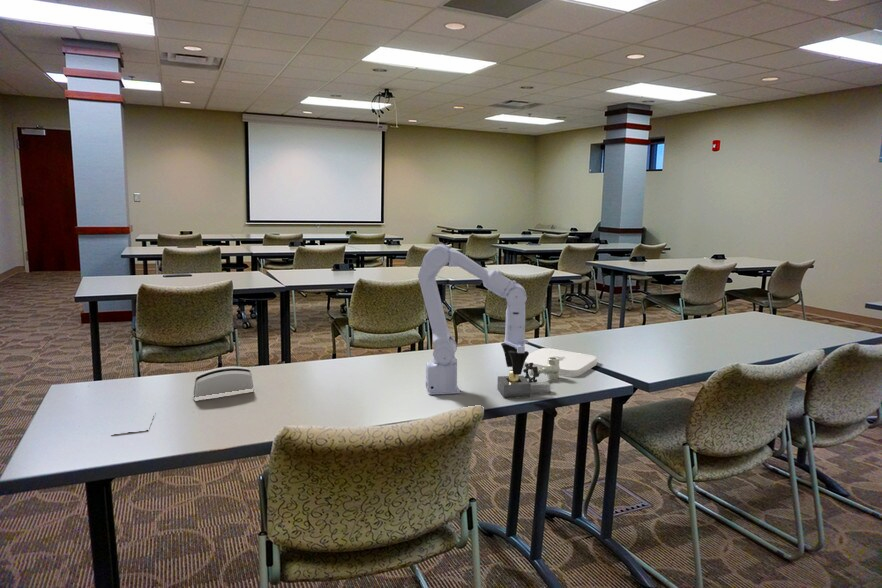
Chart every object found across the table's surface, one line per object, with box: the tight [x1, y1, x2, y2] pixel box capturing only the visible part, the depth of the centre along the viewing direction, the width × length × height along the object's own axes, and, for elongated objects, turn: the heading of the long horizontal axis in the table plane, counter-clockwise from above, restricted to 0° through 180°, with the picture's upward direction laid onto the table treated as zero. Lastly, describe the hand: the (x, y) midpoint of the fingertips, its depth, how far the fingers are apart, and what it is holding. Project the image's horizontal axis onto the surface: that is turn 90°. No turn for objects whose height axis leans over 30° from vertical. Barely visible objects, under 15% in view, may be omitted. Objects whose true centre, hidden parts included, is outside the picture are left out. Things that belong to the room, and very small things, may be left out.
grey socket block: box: [496, 375, 552, 399], centre depth 166 cm, size 15×8×4 cm, turn 97°
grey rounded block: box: [192, 365, 254, 397], centre depth 162 cm, size 17×5×10 cm, turn 120°
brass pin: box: [508, 369, 520, 383], centre depth 165 cm, size 3×3×6 cm
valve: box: [522, 357, 560, 383], centre depth 178 cm, size 7×7×12 cm
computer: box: [523, 347, 598, 378], centre depth 195 cm, size 22×22×3 cm
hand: (513, 370), depth 164 cm, fingers open, 7 cm apart
